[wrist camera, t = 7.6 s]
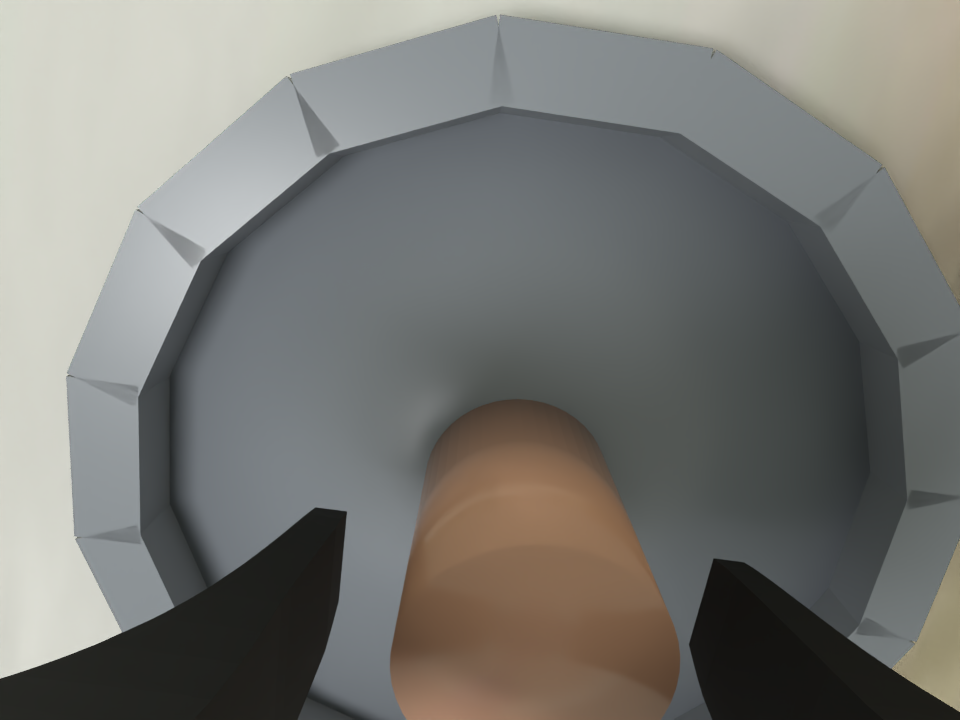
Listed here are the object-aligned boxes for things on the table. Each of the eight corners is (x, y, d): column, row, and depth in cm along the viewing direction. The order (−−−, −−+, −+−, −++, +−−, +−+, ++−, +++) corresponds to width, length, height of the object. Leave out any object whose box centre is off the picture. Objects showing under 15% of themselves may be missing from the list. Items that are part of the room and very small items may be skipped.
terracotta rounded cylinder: (588, 573, 16) (644, 795, 10) (415, 551, 16) (376, 763, 10) (624, 412, 15) (711, 565, 9) (436, 387, 15) (406, 525, 9)
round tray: (784, 808, 19) (817, 879, 17) (128, 733, 19) (88, 797, 17) (1043, 123, 14) (1135, 115, 12) (109, -24, 13) (44, -59, 11)
